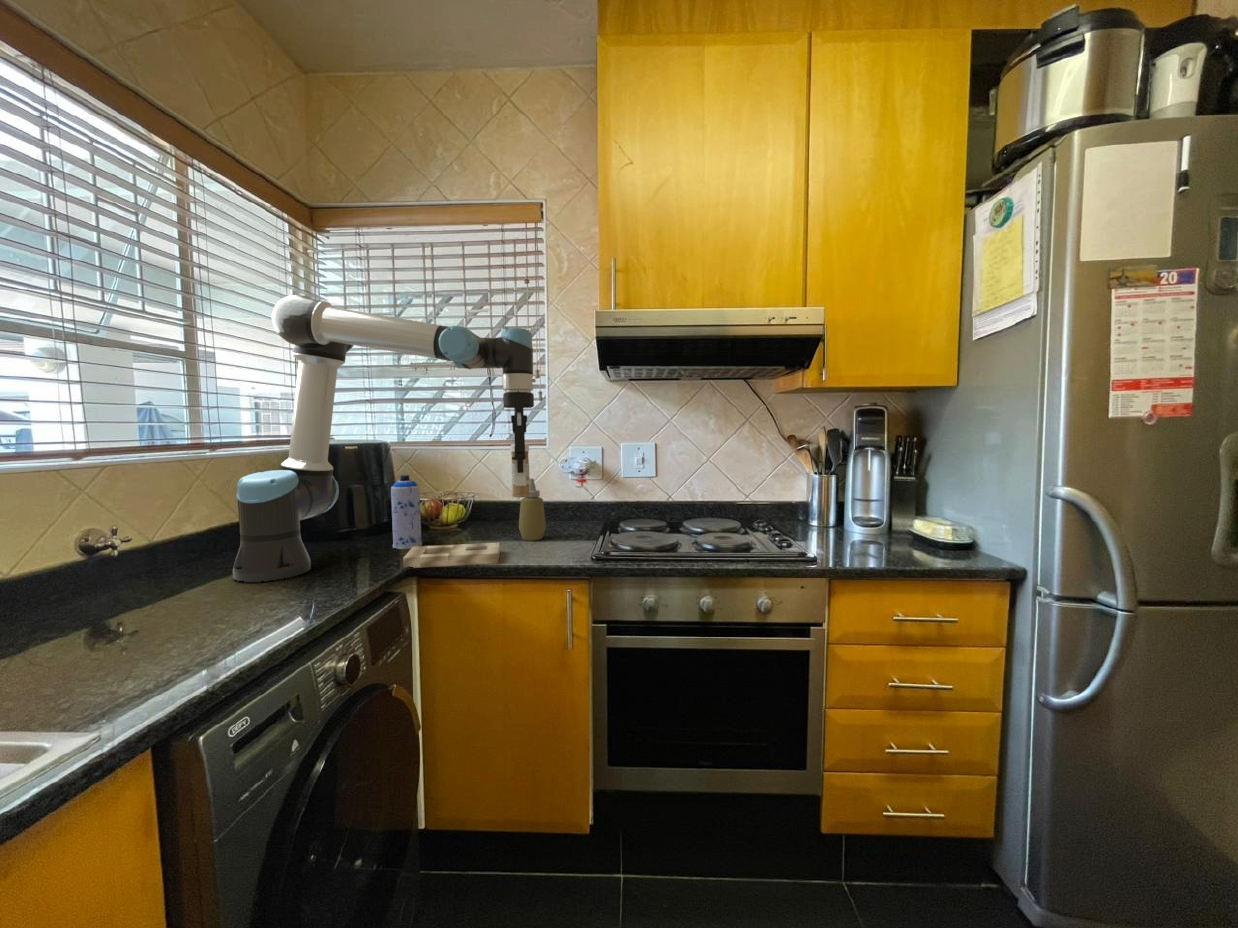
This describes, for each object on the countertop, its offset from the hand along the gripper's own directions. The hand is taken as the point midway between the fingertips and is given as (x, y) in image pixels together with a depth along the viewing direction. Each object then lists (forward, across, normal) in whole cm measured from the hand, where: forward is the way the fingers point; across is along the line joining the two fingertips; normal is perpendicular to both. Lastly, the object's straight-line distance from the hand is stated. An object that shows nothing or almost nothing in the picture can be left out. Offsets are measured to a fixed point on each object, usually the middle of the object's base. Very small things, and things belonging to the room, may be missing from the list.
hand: (520, 484), depth 135 cm
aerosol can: (+19, +20, +32) cm, 42 cm away
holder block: (+19, +1, +17) cm, 25 cm away
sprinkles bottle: (+3, 0, 0) cm, 3 cm away
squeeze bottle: (+19, +21, -3) cm, 28 cm away
